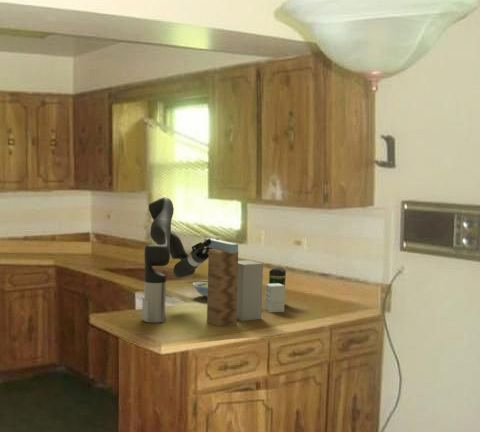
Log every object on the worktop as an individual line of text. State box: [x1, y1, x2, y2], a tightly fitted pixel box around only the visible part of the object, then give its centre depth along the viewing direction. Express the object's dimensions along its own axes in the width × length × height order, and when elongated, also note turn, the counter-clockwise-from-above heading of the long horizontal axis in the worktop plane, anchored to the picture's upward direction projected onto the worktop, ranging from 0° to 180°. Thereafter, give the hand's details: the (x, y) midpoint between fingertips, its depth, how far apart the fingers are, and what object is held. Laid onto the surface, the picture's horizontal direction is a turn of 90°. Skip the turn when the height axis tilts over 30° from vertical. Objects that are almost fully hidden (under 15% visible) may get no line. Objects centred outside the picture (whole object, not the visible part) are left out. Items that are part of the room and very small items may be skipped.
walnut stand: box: [206, 249, 239, 327], centre depth 316 cm, size 9×10×32 cm
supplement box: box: [264, 283, 286, 313], centre depth 348 cm, size 7×7×13 cm
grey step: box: [236, 259, 264, 322], centre depth 331 cm, size 10×12×25 cm
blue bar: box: [203, 238, 239, 254], centre depth 317 cm, size 4×24×4 cm, turn 30°
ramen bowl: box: [187, 279, 208, 299], centre depth 376 cm, size 25×23×8 cm
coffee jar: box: [268, 266, 287, 287], centre depth 362 cm, size 10×8×19 cm
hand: (214, 240), depth 322 cm, fingers closed on blue bar, 3 cm apart
